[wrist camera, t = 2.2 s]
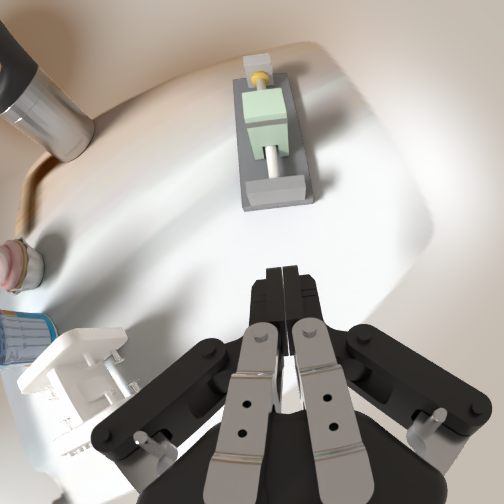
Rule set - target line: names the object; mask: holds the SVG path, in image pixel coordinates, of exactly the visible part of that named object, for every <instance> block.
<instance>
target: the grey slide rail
mask: <svg viewBox="0 0 504 504" xmlns="http://www.w3.org/2000/svg"><path fill="white" fill-rule="evenodd" d="M243 64H244V70H245V74H246V78H242V79H236V80H233V91H234V105H235V119H236V132H237V146H238V159H239V172H240V186H241V199H242V208H243V210H244V212H246V211H254V210H262V209H270V208H279V207H287V206H296V205H305V204H313V200H314V197H313V192H312V186H311V181H310V175H309V170H308V165H307V160H306V155H305V150H304V145H303V140H302V135H301V131H300V126H299V122H298V117H297V113H296V109H295V105H294V100H293V96H292V92H291V88H290V84H289V80H288V77H287V73H280V74H273V73H272V66H271V60H270V56H269V53H264V54H256V55H249V56H243ZM274 88H281V89H282V94H283V99H284V103H285V108H286V113H287V119H288V123H287V129H288V147H289V156H282V157H280V156H279V150H278V145H272V146H264V147H263V151H264V159H258V160H255V158H254V154H253V150H252V146H251V142H250V138H249V135H248V131H247V129H246V126H245V120H244V112H243V101H242V93H245V92H251V91H258V90H266V89H274Z"/></svg>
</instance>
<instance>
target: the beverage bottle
mask: <svg viewBox="0 0 504 504" xmlns="http://www.w3.org/2000/svg"><path fill="white" fill-rule="evenodd" d="M56 338H58V333H57V330H56V327H55V325H54V323H53V321H52V320H51V319H50V318H49V317H48V316H47V315H45V314H43V313H24V312H15V311H6V310H0V370H4V369H6V368H15V367H26V366H30V365H31V364H32V363H33V362H34V361H35V360H36V359H37V358H38V357H39V356H40V355H41V354H42V353H43V352H44V351H45V350H46V349H47V348H48V347H49V345H50V344H51V343H52V342H53V341H54V340H55V339H56Z"/></svg>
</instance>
